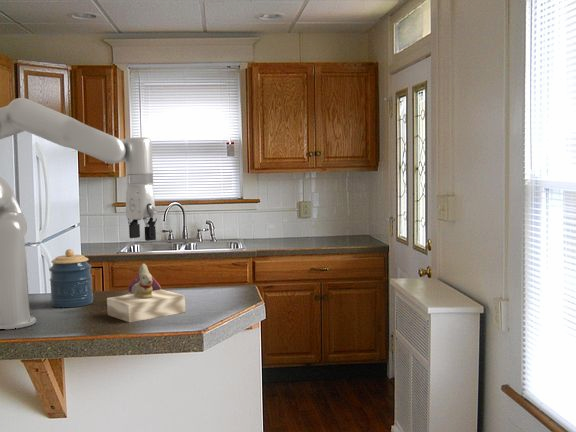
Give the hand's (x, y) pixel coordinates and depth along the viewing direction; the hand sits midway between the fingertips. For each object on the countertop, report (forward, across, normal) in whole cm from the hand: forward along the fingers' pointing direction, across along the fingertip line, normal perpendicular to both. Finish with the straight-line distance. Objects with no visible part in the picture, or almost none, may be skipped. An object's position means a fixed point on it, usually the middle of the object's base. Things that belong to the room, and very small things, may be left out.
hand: (142, 239), depth 212 cm
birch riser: (+22, 0, 0) cm, 22 cm away
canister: (+22, -31, -10) cm, 39 cm away
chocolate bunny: (+17, 0, 0) cm, 17 cm away
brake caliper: (+22, -14, +7) cm, 27 cm away
